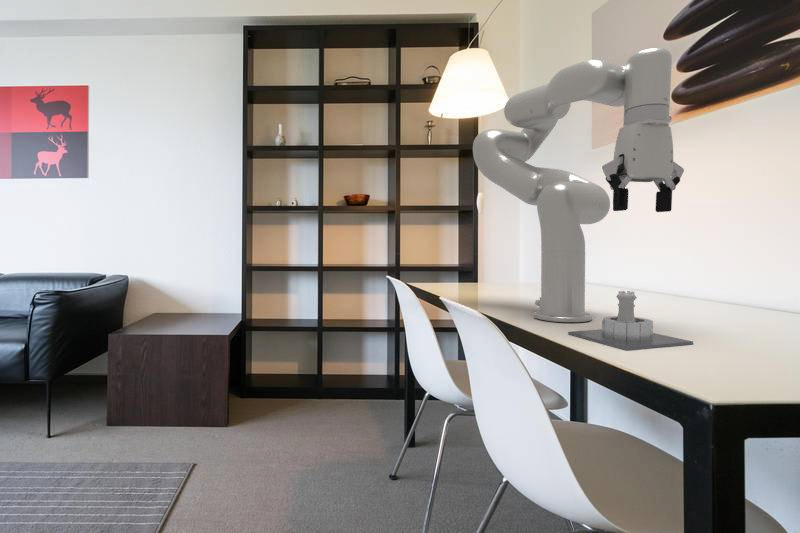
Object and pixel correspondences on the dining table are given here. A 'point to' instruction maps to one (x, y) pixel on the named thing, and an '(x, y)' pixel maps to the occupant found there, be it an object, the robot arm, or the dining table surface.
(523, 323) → the dining table surface
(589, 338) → the socket
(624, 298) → the rook chess piece
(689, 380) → the dining table surface
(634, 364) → the dining table surface
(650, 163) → the robot arm
